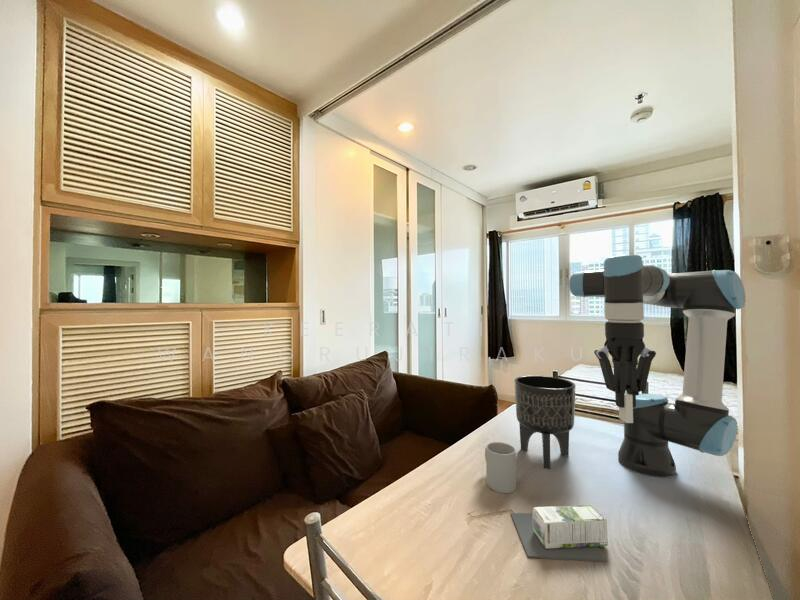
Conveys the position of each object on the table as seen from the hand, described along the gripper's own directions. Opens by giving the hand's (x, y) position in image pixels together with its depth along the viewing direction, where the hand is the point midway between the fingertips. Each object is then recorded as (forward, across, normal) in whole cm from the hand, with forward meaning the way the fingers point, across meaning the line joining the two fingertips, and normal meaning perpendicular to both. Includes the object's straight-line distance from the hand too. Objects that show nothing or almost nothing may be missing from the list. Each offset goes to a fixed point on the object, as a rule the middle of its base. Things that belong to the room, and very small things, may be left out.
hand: (626, 420), depth 76 cm
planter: (+27, +6, -37) cm, 46 cm away
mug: (+26, +26, -20) cm, 42 cm away
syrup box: (+23, +8, +3) cm, 24 cm away
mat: (+26, +18, +2) cm, 32 cm away
